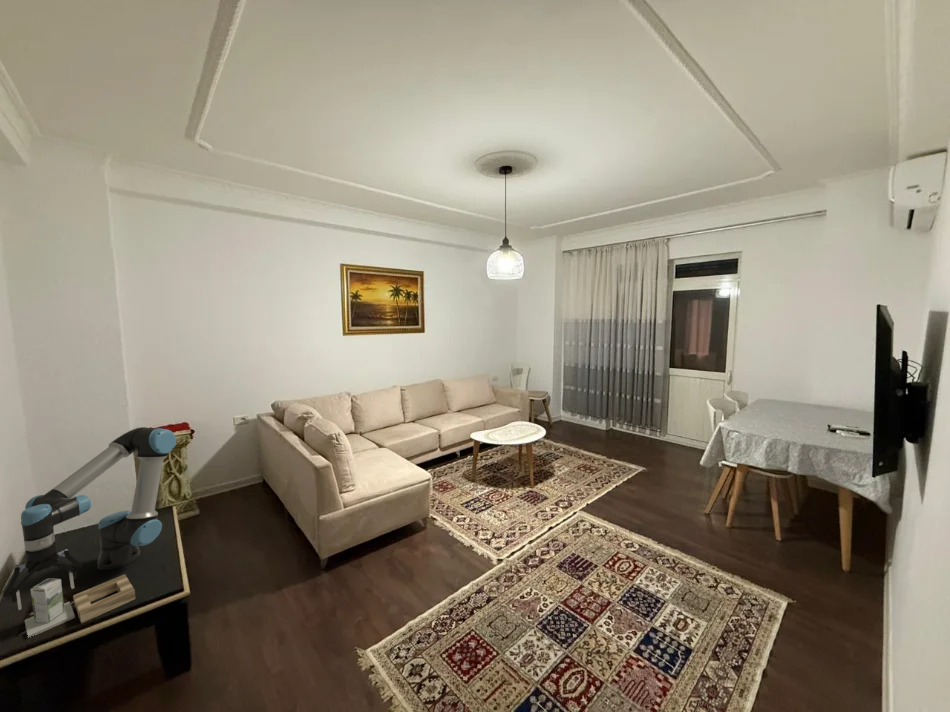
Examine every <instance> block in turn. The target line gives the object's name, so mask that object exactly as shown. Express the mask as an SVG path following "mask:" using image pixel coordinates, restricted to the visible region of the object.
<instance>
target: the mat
mask: <svg viewBox="0 0 950 712" xmlns="http://www.w3.org/2000/svg"><path fill="white" fill-rule="evenodd" d="M73 619H76V615H75V613H74V610H73V608H72V604H71V602H70V601H67V602H64V612H63V613H62V614H60V615H59V616H57V617H56V618H55V619H53V620H52V621H51V622H49V623H35V622H34V616H31V617H30V618H27V619H25V620H24V624H25V629H26V635H28V636H27V638H28V639H30V638H32V637H31V636H33V637H35V636H36V635H39V634H41V633H44V632H46V631H48V630H50V629H53V628H54V627H57V626H60V625H62V624H64V623H66V622H68V621H71V620H73ZM34 635H35V636H34ZM29 637H30V638H29Z"/></svg>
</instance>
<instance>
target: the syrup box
mask: <svg viewBox="0 0 950 712" xmlns="http://www.w3.org/2000/svg"><path fill="white" fill-rule="evenodd" d="M62 585H63V584H62V579H61V578H54V577H53V578H50V577H49V578H46V579H44V580H42V581H41V582H39V583H38V584H35V585H34V586H32V588H30V596H31V603H32V613H33V617H34V622H35V623H49V622H51V621H52V620H53V619H55V618H56V617H57V616H59V615H60V614H62V613H63V612H64V604H65V602H64V594H63V587H62Z"/></svg>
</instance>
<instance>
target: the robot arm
mask: <svg viewBox="0 0 950 712" xmlns="http://www.w3.org/2000/svg"><path fill="white" fill-rule="evenodd" d="M176 437H177V436H176V435H175V433H174V432H173V431H172V430H170V429H164V428H160V427H159V428H156V427H136V428H133V429H131V430H129V431H127V432H125V433H123V434H122V435H120V436H118V437H117V438H115V439H114V440H112V441H111V442H110V443H109V444H108V447H107V448H106V449H104V450H103V451H102V452H100V453H99V454H97V455H96V456H94V458H92V459H91V460H90V461H88V462H87V463H85V464H84V465H83V466H82V467H80V468H79V469H77V470H76V471H75V472H73V473H72V474H71V475H69V476H68V477H67V478H65V479H64V480H62V481H61V482H60V483H59V484H57V485H56V486H54V487H52V489H50V490H49V491H48V492H46V493H45V494H39V495H36V496H33V497H32V498H30V499H29V500H28V501H27V502H26V503H25V506H24V507H25V508H24V510H23V511H22V512H21V513H20V515H21V516H20V524H21V528H22V529H21V530H22V536H23V543H24V544H23V545H24V550H25V558H26V559H25V560H26V562H25V563H24V564H20V565H19V564H16V565H14V567H13V572H12V575H11V576H10V578H9V580H8V582H7V583H6V585H5V587H4V589H3V590H2V596H3V597H7V596H11V602H12V603H16V602H17V609H18V611H20V610H22V609H23V608H22V602H21V600H22V599H21V595H20V589H21V588H22V587H23V586H24V585H25V583H26V582H27V581H28V580H29V578H30V577H31V576H33V575H34V574H35V572H36V573H38V572H40V571H43V570H47V569H49V568H50V567H57V568H59V569H63V570H66V571H68V576H69V577H68V578H69V583H70V585H69V586H70V588H71V589H72V590H73V589H75V583H74V580H76V579H77V578H78V571H77V570H79V569H81V568H83V566H84V565H83V564H82V562H81V561H80V560H78V559H77V558H76V557H75V556H73V555H72V554H71V553H70V552H69V549H68V548H64V549H63V550H61V551H60V552H57V546H56V542H55V541H56V538H55V529H54V527H55V526H57V525H59V524H61V523H64V522H67V521H68V520H70V519H73V518H75V517H78V516H80V515H82V514H85V513H86V512H88V511H90V509H91V507H92V501H91V499H90V498H89V496H88V495H85V494H80V495H77V494H78V493H79V492H81V491H82V490H83V489H85V488H86V487H87V486H88V485H90V484H91V483H92V482H93V481H95V480H96V479H97V478H98V477H100V476H101V475H103V474H104V473H105V472H106V471H107V470H109V469H110V468H111V467H113V466H114V465H115V464H116V463H118V462H119V461H120V460H121V459H123V458H127V457H129V456H130V455H131V454H134V453H136V452H137V454H136V458H138V459H139V460H140V462H139V467H138V472H137V478H136V483H135V490H134V494H133V499H132V500H133V501H132V505H131V510H121V511H117V512H114V513H111V514H108V515H107V516H105V517H102V518H100V519H99V521H98V525H97V526H98V527H97V529H98V534H99V545H100V552H99V555H98V559H97V562H96V564H97V570H99V571H109V570H115V569H119V568H122V567H124V566H127V565H128V564H131V563H133V562H134V561H135V560H137V559H138V558H139V557H140V555H141V550H140V547H143V546H147V545H150V544H151V543H152V542H154V541H155V540H156V538H158V537H159V535H160V533H161V532H162V528H163V523H162V521H161V520H159V519H158V515H159V513H158V511H157V510H156V505H157V499H158V494H159V493H158V492H159V487H160V480H161V476H162V469H163V464H164V460H165V459H166V458H168V456H169V453H171V452H172V451H173V449H175V447H176V446H177V438H176ZM76 495H77V496H76ZM139 546H140V547H139ZM138 556H139V557H138ZM59 557H63V558H64V557H65V558H66V559H67V560H68V561H69V562H71V564H72V565H71V564H68V563H66V562H63V561H60V560H59V559H58V558H59ZM137 557H138V558H137ZM136 558H137V559H136ZM130 562H131V563H130ZM126 564H127V565H126ZM73 565H74V566H73ZM24 569H27V570H26V572H25V573H24V574H23V575H22V577H21V578H19V580H18V577H19V575H20V573H21V572H23V570H24ZM17 580H18V582H17V583H16V584H15V582H16V581H17ZM14 584H15V585H14Z"/></svg>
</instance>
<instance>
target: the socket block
mask: <svg viewBox="0 0 950 712" xmlns="http://www.w3.org/2000/svg"><path fill="white" fill-rule="evenodd" d="M115 592H116V593H115ZM112 593H114V594H112ZM110 594H112V595H110ZM108 595H110V596H108ZM106 596H107V597H106ZM104 597H105V598H104ZM72 598H73V599H72V600H73V605H74V607H75V611H76V613H77V616H78V619H79V621H80V624H83V623H86V622H87V621H90V620H92V619H94V618H97V617H99V616H101V615H103V614H105V613H108V612H110V611H113V610H114V609H117V608H119V607H121V606H123V605H125V604H127V603H129V602H131V601H134V600H135V599H136V590H135V588H134V586H133V585H132V584H131V582H130V580H129V578H128V577H127V575H126V574H121V575H120V576H118V577H115V578H112V579H110V580H108V581H105V582H103V583H101V584H97V585H95V586H93V587H91V588H88V589H86V590H83V591H81V592H79V593H76V594H74V595H73V596H72ZM101 598H103V599H101ZM98 599H100V600H98ZM97 600H98V601H97ZM94 601H96V602H94ZM92 602H93V603H92Z"/></svg>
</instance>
